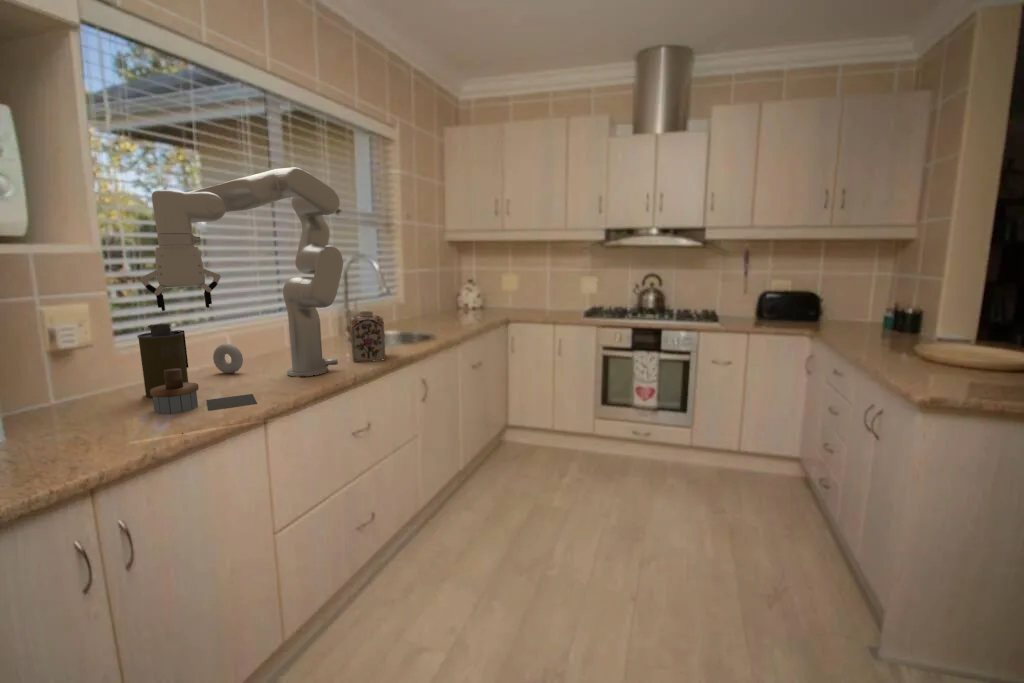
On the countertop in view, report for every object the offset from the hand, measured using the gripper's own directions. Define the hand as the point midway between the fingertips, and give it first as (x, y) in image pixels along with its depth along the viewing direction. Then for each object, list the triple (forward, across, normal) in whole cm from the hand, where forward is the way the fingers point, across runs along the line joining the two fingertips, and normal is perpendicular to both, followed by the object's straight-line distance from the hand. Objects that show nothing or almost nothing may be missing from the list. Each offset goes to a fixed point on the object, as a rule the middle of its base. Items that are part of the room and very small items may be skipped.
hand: (186, 308), depth 128 cm
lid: (+20, +5, +7) cm, 22 cm away
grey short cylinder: (+25, +5, +7) cm, 26 cm away
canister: (+25, +7, -11) cm, 28 cm away
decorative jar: (+27, -56, -28) cm, 68 cm away
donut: (+26, -10, -30) cm, 41 cm away
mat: (+25, -7, +8) cm, 27 cm away
